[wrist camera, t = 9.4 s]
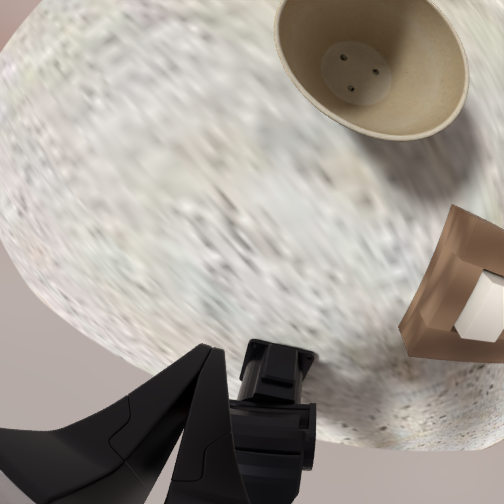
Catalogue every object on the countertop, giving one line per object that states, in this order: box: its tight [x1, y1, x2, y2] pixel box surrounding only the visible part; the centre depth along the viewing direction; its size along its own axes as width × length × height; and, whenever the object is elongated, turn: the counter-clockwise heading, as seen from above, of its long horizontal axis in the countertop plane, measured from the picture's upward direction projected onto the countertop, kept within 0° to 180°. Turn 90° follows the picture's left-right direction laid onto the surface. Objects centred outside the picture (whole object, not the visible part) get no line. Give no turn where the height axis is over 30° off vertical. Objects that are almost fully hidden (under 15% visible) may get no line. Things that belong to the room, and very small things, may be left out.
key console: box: [398, 204, 504, 363], centre depth 16 cm, size 12×20×4 cm, turn 79°
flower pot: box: [274, 0, 469, 141], centre depth 11 cm, size 10×10×7 cm
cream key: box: [454, 269, 504, 342], centre depth 15 cm, size 5×5×3 cm
